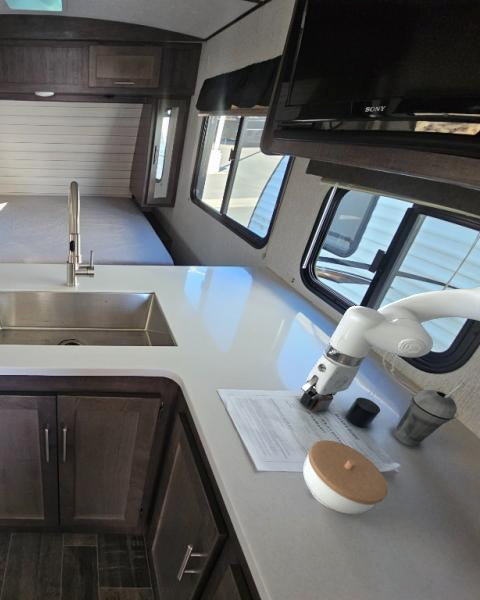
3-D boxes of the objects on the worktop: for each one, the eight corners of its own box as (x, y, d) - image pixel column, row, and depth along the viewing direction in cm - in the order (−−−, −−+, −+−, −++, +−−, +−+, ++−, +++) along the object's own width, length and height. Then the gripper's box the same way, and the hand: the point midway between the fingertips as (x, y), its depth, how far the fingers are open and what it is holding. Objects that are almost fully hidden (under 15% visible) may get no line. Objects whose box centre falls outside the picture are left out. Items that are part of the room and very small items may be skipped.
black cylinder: (354, 411, 88) (365, 395, 84) (373, 426, 83) (385, 410, 80) (340, 414, 86) (351, 399, 83) (358, 430, 82) (370, 414, 79)
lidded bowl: (317, 525, 63) (343, 495, 57) (282, 464, 73) (301, 433, 68) (380, 526, 63) (412, 496, 57) (336, 465, 74) (359, 434, 68)
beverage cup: (388, 420, 85) (433, 364, 75) (425, 438, 81) (478, 381, 70) (384, 437, 81) (432, 379, 70) (423, 457, 76) (480, 398, 66)
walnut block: (312, 397, 91) (319, 385, 89) (326, 409, 88) (333, 398, 85) (299, 399, 90) (306, 388, 88) (313, 412, 87) (320, 401, 84)
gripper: (331, 369, 74) (300, 420, 84) (384, 358, 78) (349, 408, 88) (304, 348, 80) (278, 399, 90) (355, 339, 85) (325, 388, 94)
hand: (313, 403), depth 89 cm, fingers open, 4 cm apart
